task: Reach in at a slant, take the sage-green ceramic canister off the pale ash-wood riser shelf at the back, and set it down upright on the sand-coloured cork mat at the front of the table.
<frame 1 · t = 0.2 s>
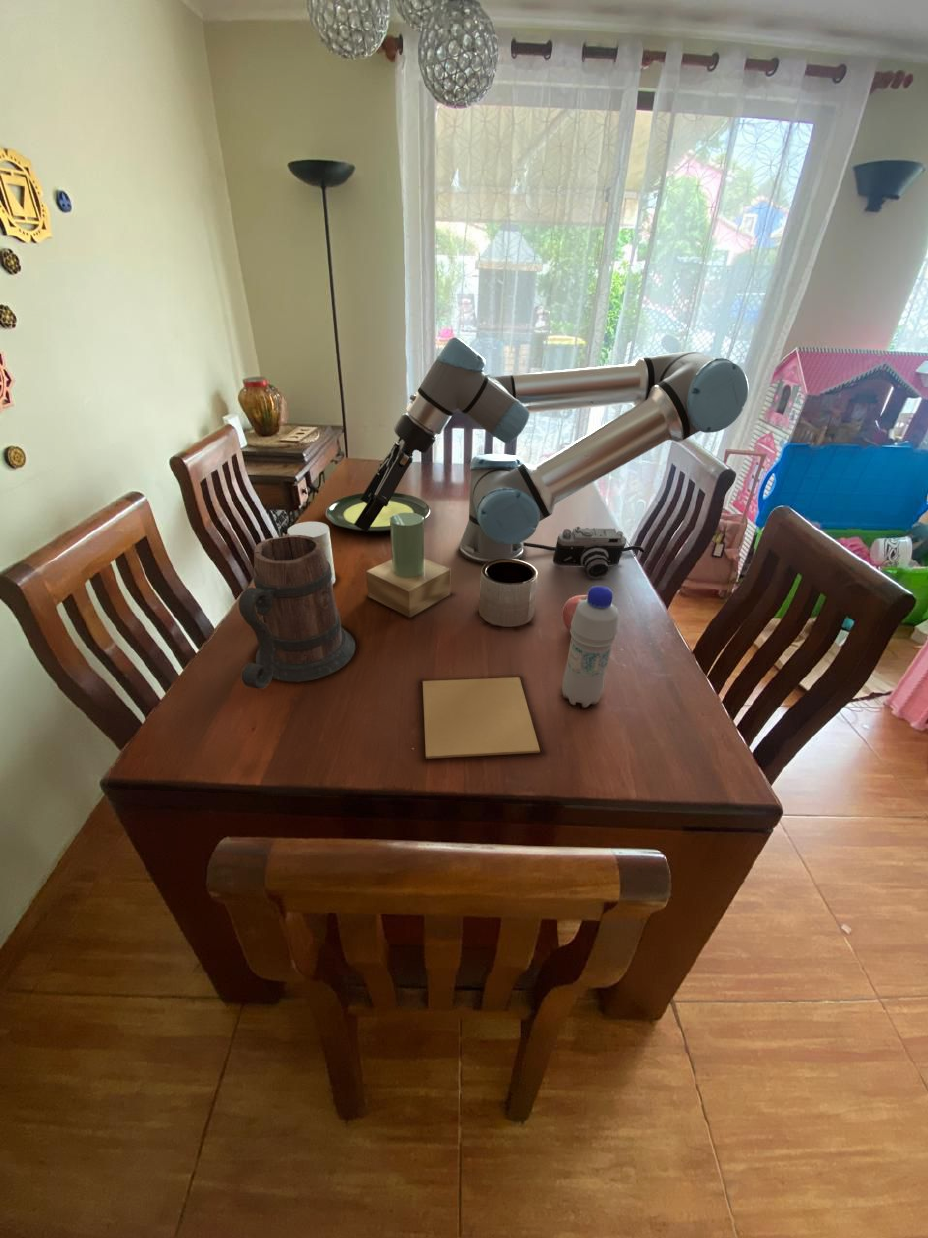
hand: (363, 514, 104), 15 cm above the table, tool tilted 35°, fingers open, 13 cm apart
planter: (505, 614, 103), on the table
apple: (579, 632, 99), on the table
bottle: (580, 698, 83), on the table
cork mat: (476, 715, 79), on the table
plate: (379, 518, 142), on the table
riser: (409, 595, 108), on the table
cup: (316, 582, 112), on the table
camera: (588, 571, 119), on the table
canister: (408, 570, 105), point 6 cm above the table, touching riser
tankard: (296, 662, 89), on the table
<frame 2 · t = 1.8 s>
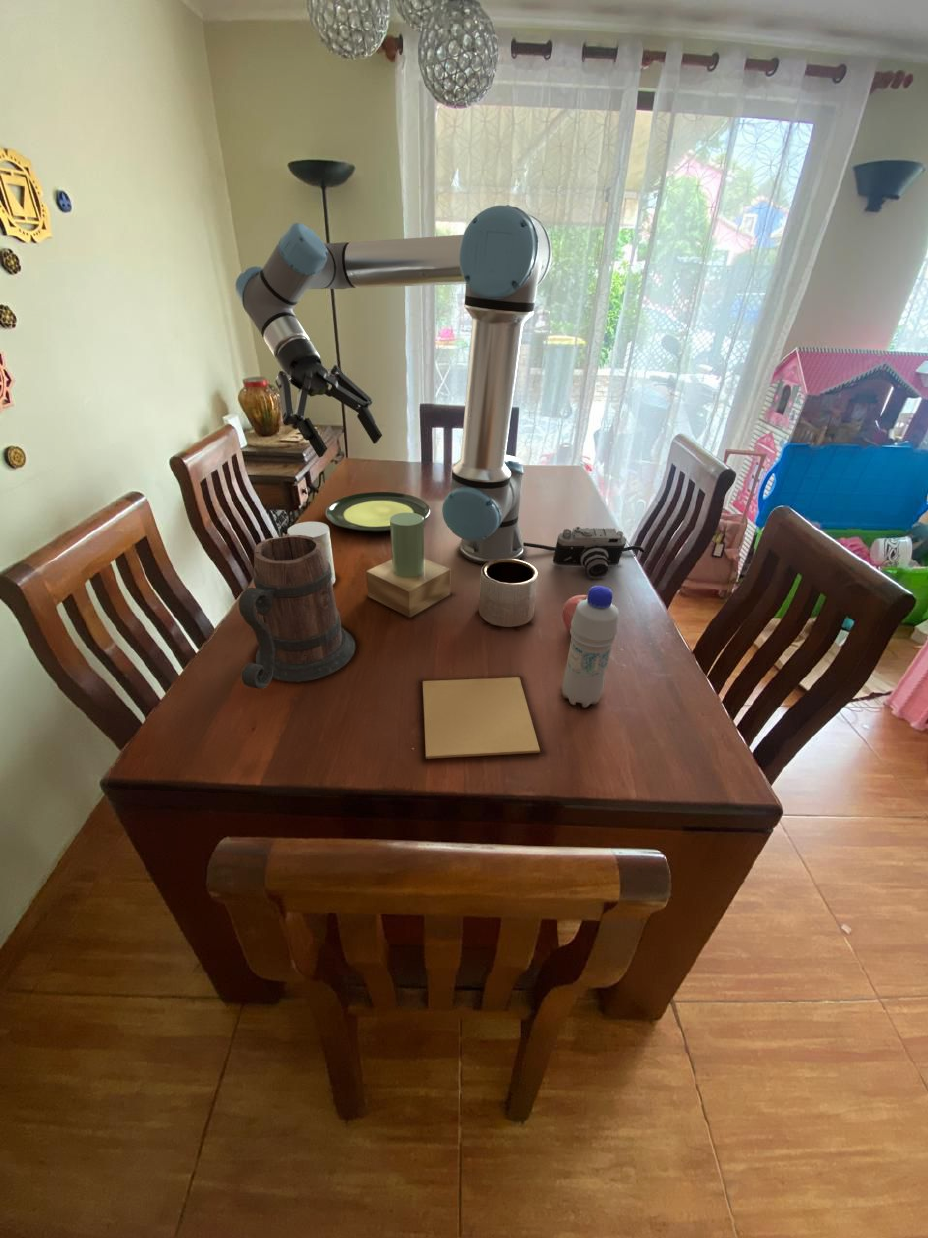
hand: (351, 446, 100), 28 cm above the table, tool tilted 45°, fingers open, 13 cm apart
nothing on the table moved.
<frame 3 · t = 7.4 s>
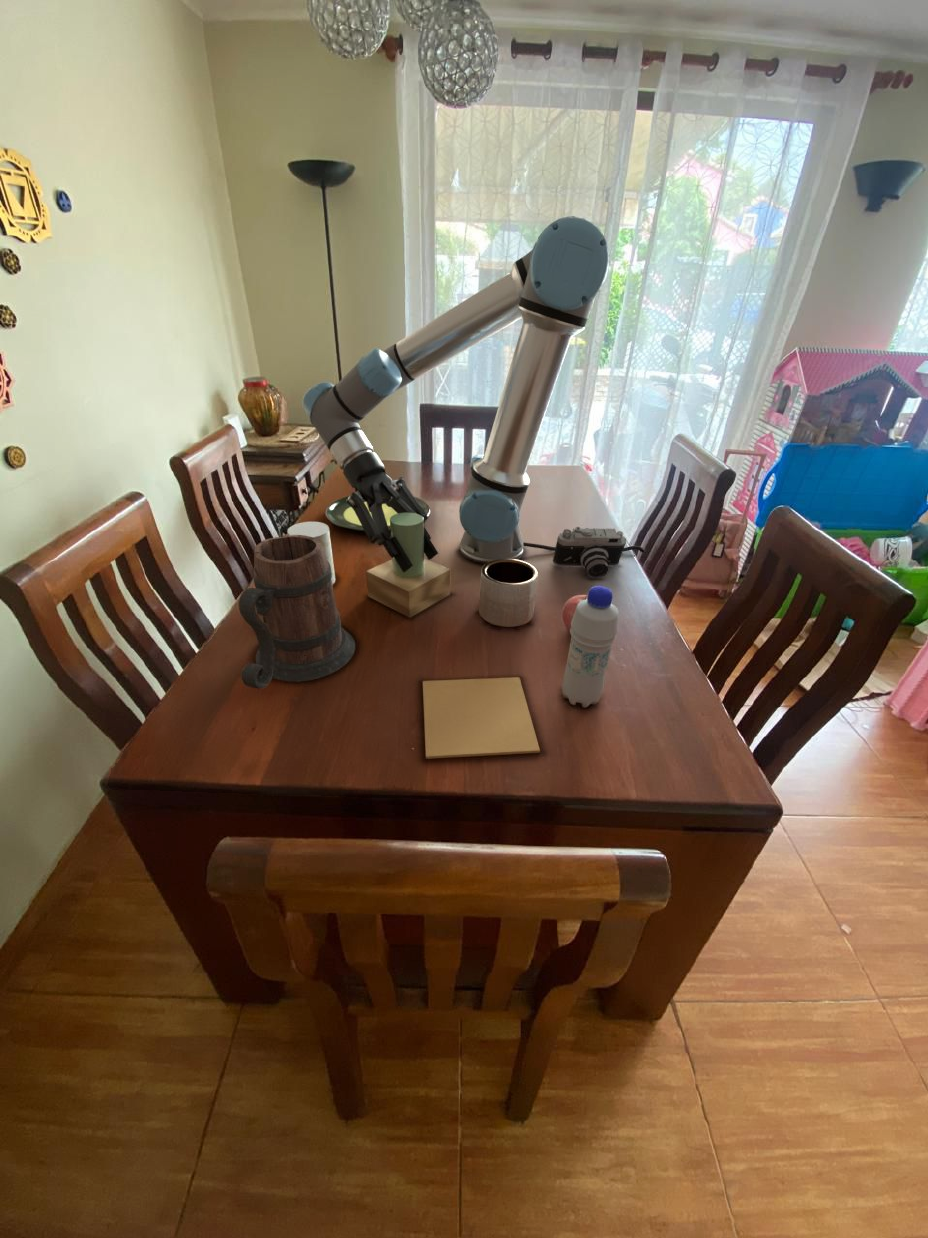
hand: (421, 562, 101), 9 cm above the table, tool tilted 45°, fingers closed on canister, 6 cm apart
canister: (408, 570, 105), point 6 cm above the table, touching gripper, riser
everything else where it was.
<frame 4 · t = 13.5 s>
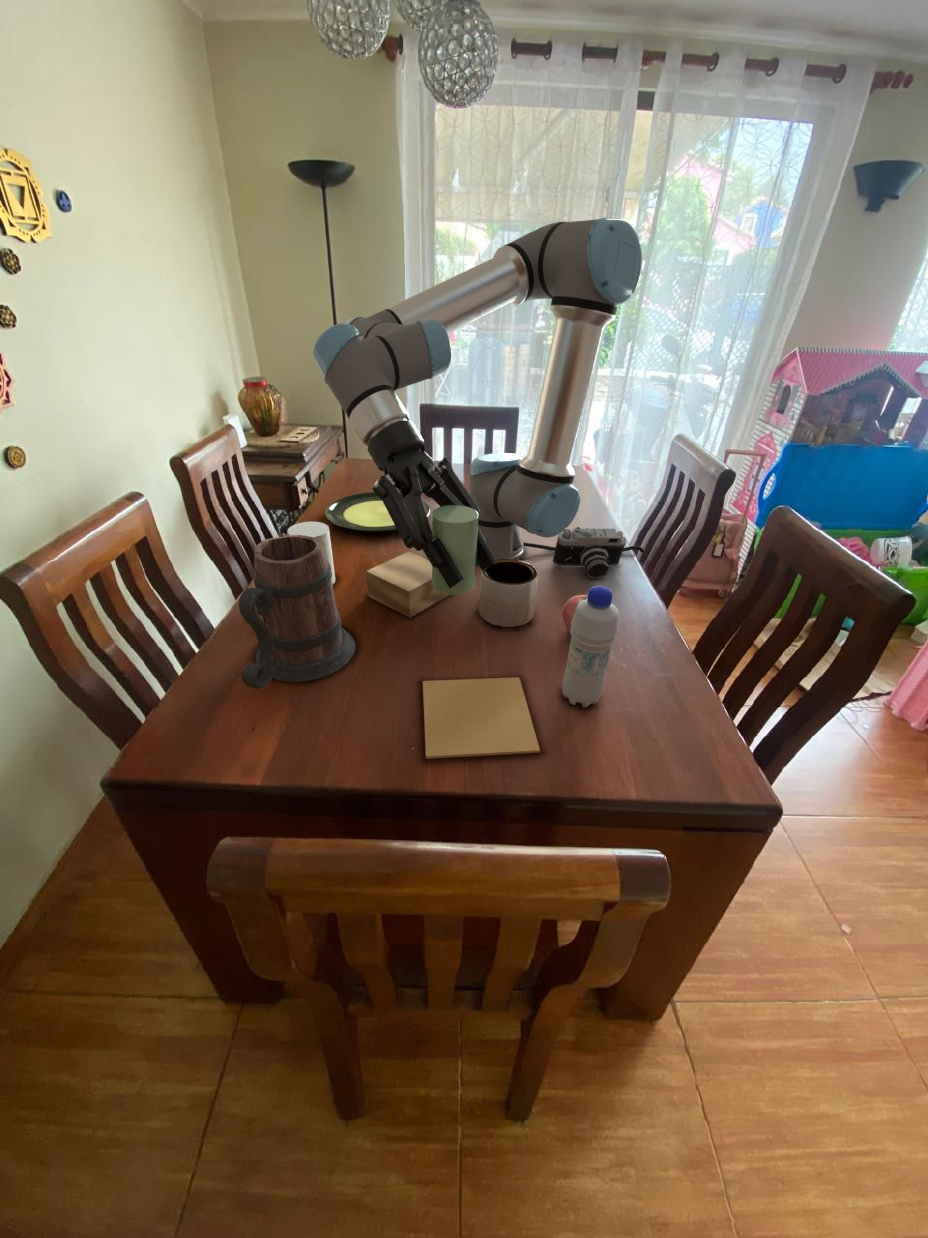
hand: (473, 574, 73), 21 cm above the table, tool tilted 45°, fingers closed on canister, 6 cm apart
canister: (453, 583, 77), point 18 cm above the table, touching gripper
everything else where it was.
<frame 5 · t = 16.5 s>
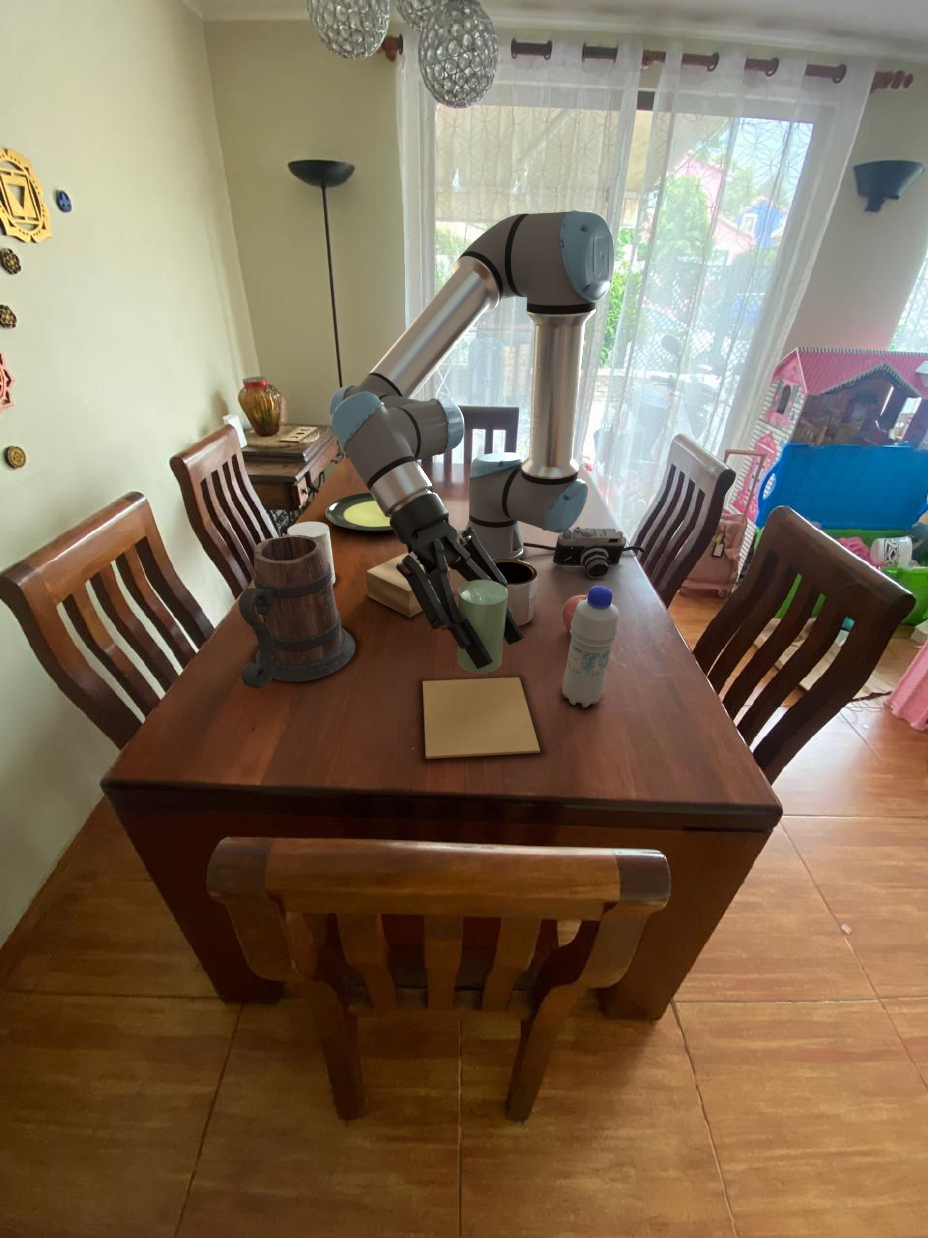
hand: (501, 652, 70), 14 cm above the table, tool tilted 45°, fingers closed on canister, 6 cm apart
canister: (479, 659, 73), point 11 cm above the table, touching gripper
everything else where it was.
when the fingers open (3 cm above the table, at t = 19.6 s): canister stays where it is, resting on cork mat.
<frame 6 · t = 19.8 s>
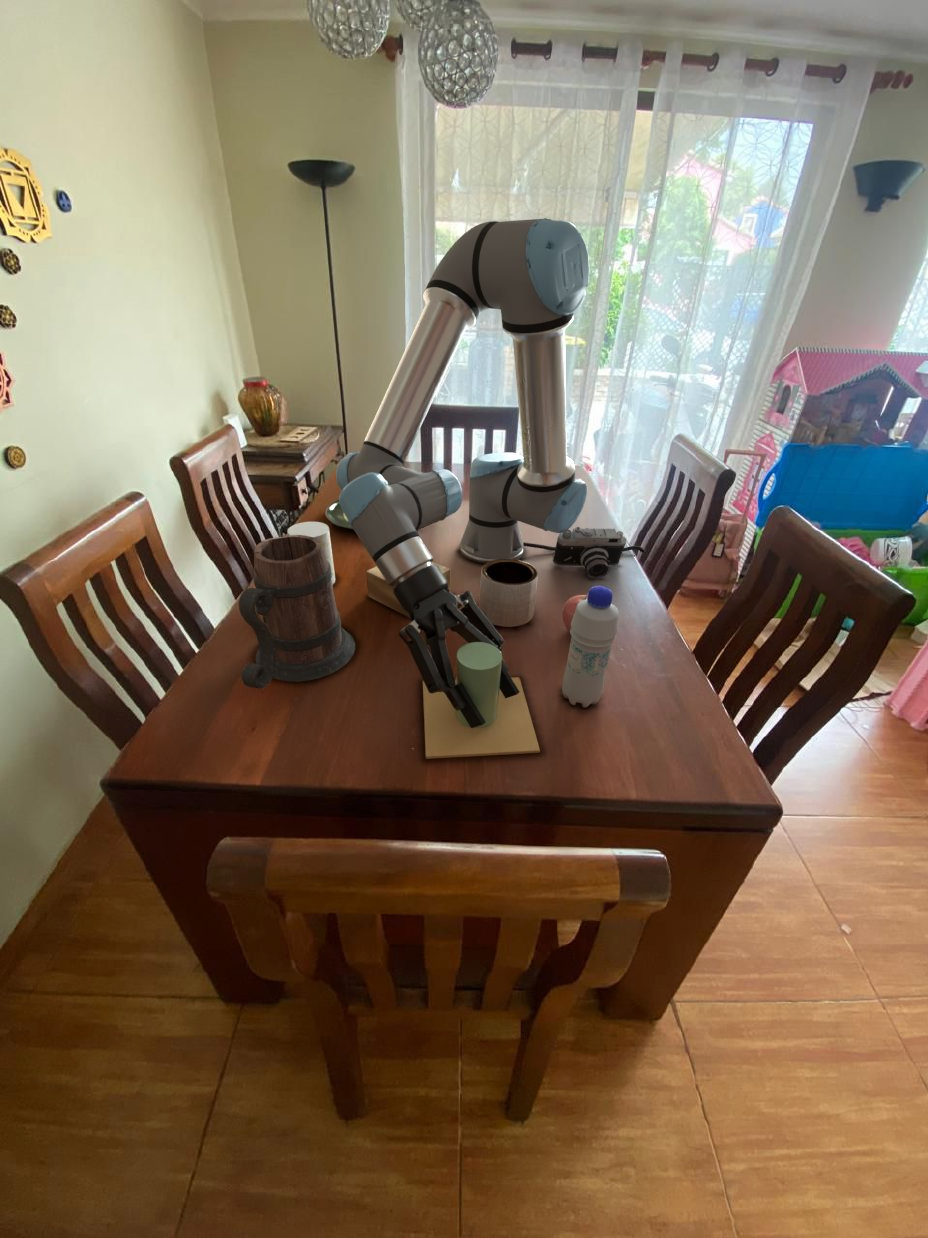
hand: (496, 709, 75), 3 cm above the table, tool tilted 45°, fingers open, 8 cm apart
canister: (476, 712, 79), point 1 cm above the table, touching cork mat
everything else where it was.
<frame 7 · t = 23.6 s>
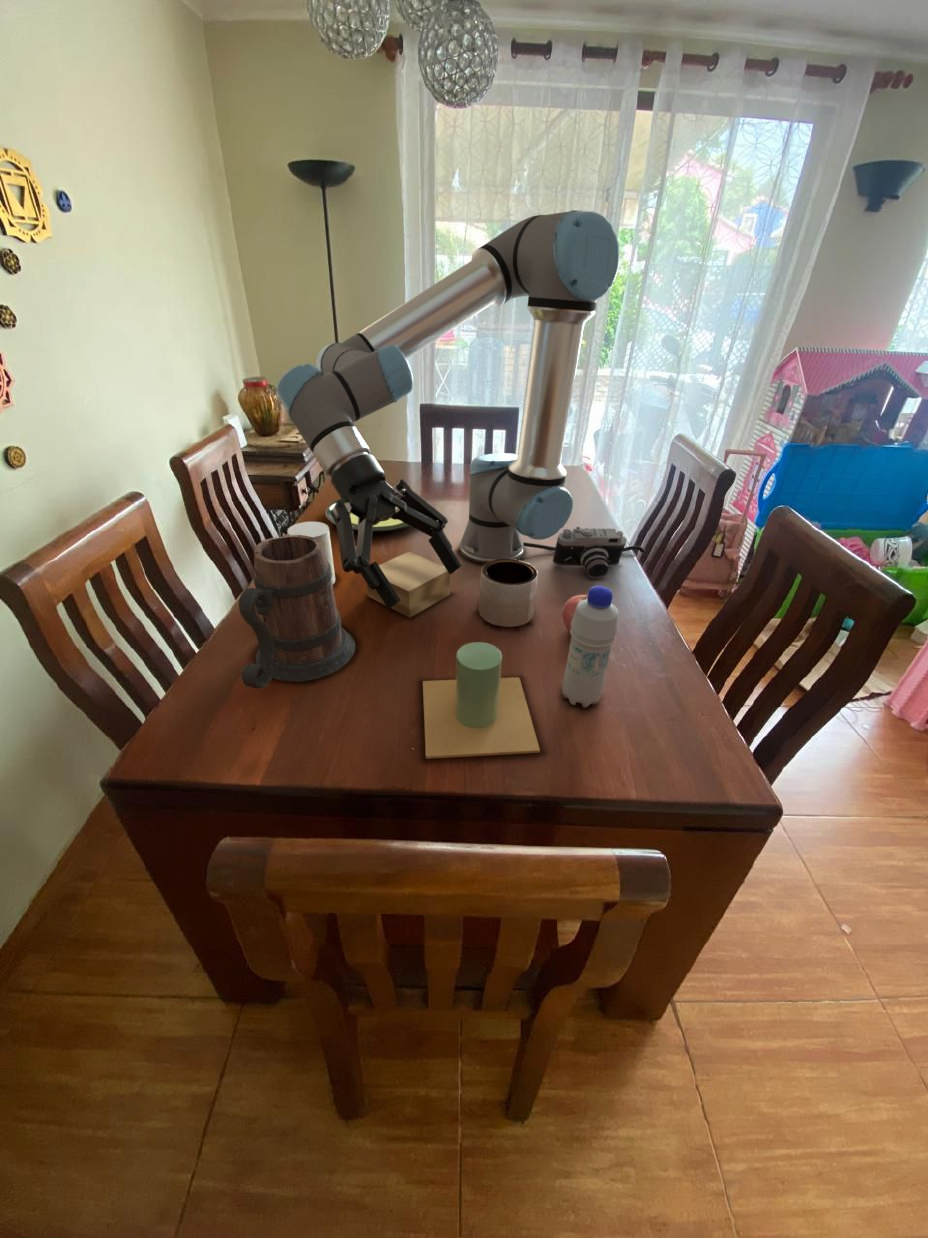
hand: (427, 586, 78), 17 cm above the table, tool tilted 45°, fingers open, 13 cm apart
nothing on the table moved.
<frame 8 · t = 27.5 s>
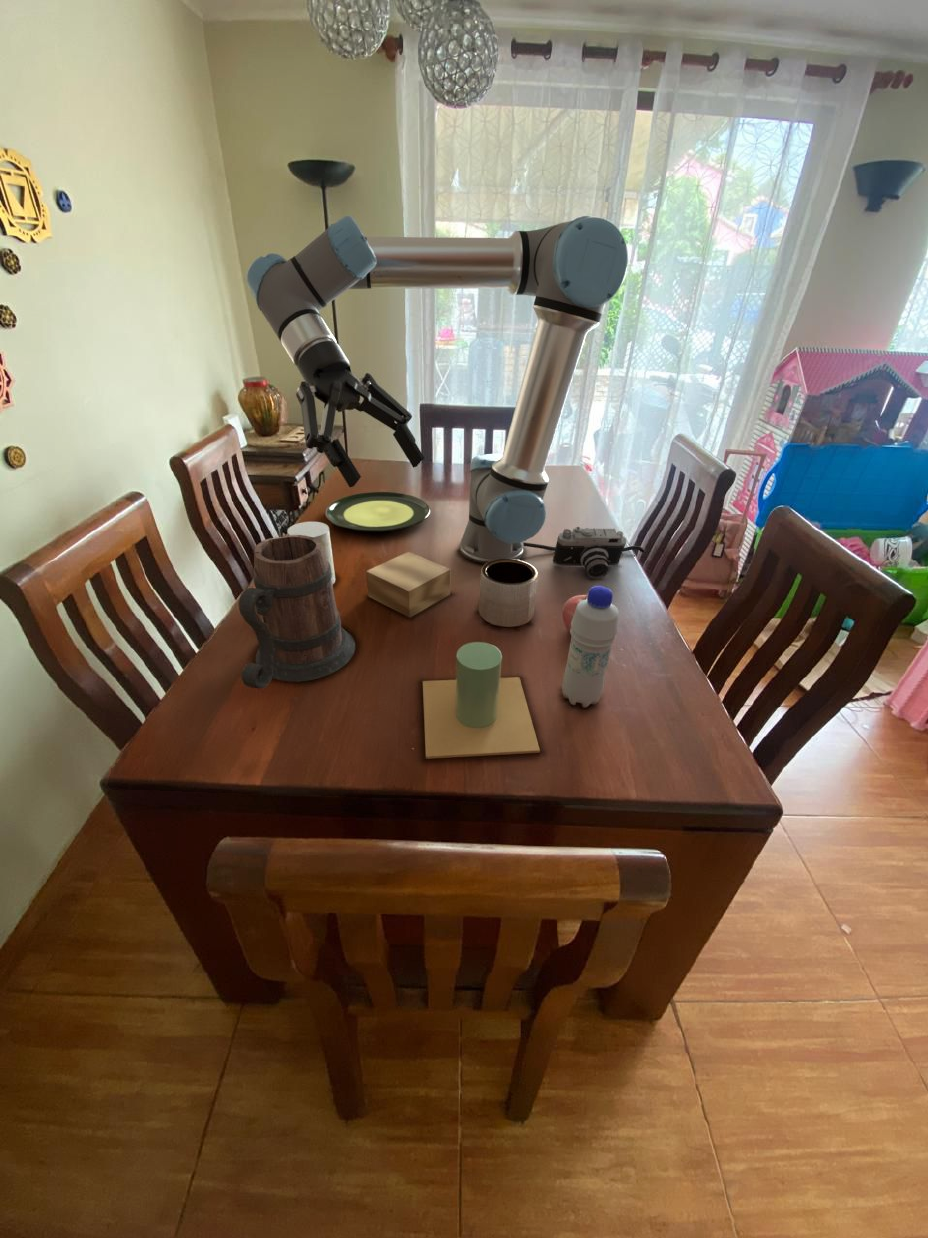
hand: (389, 472, 82), 30 cm above the table, tool tilted 45°, fingers open, 13 cm apart
nothing on the table moved.
at the end: canister inside the target area on the cork mat (0.1 cm from its centre), point 0.5 cm above the cork mat's base; canister tilted 0°; canister touching cork mat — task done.
